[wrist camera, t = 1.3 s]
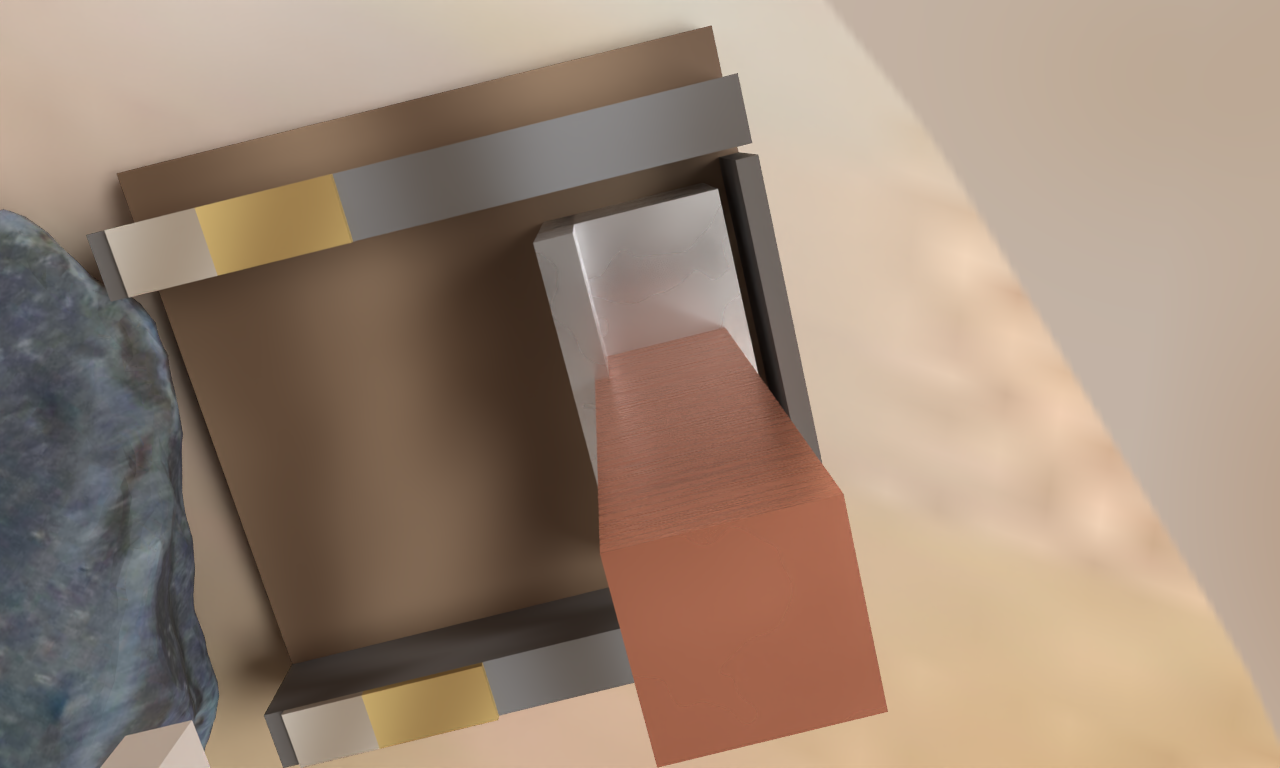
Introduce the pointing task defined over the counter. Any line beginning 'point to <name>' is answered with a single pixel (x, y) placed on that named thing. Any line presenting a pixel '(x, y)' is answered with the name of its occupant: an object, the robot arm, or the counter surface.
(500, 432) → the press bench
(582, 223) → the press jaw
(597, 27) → the counter surface
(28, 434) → the rock
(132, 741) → the robot arm
